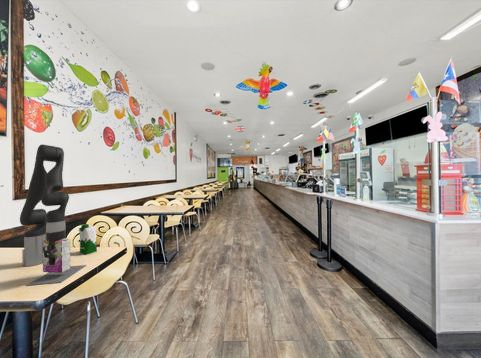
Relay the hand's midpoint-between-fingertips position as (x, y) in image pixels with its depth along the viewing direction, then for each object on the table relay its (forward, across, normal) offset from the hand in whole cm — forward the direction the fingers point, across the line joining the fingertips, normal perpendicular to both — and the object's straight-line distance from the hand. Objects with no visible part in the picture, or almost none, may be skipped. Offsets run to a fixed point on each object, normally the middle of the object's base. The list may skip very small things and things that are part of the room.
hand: (56, 262), depth 103 cm
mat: (+8, -2, 0) cm, 8 cm away
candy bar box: (+5, 0, 0) cm, 5 cm away
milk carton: (+8, -37, -5) cm, 38 cm away
